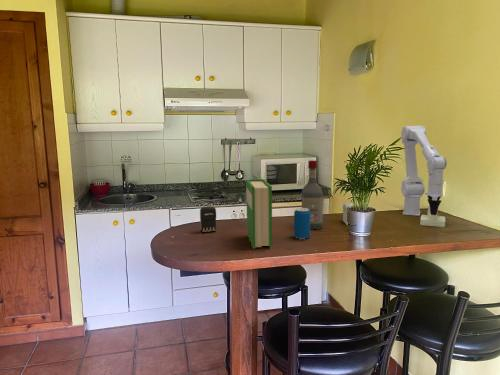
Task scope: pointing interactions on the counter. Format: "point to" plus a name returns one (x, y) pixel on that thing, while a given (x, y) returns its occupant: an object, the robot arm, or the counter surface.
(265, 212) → the hardback book
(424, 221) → the sage block
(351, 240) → the counter surface
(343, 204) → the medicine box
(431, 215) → the cream block
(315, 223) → the liquor
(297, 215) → the beverage can
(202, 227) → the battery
